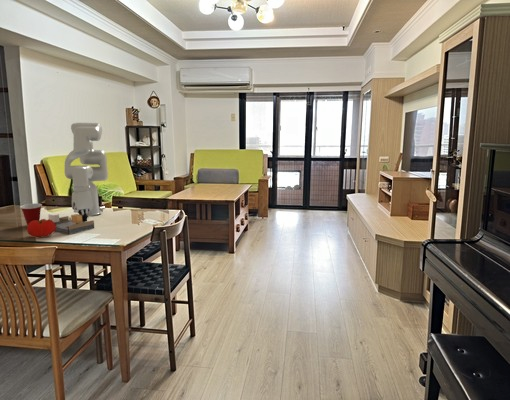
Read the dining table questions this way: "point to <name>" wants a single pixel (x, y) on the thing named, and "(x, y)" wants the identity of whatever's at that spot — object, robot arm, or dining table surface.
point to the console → (72, 226)
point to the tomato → (41, 228)
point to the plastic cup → (31, 212)
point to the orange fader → (76, 218)
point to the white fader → (54, 217)
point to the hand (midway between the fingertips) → (84, 221)
